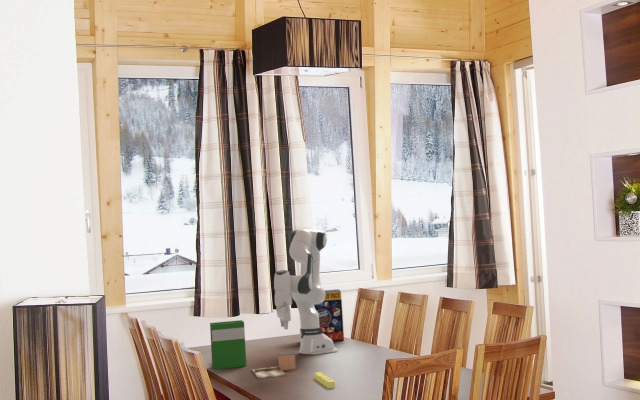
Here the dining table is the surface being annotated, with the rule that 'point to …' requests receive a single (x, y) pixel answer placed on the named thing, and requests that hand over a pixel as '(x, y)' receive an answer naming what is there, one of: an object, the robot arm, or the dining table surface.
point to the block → (287, 361)
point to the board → (268, 372)
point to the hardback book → (228, 344)
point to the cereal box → (331, 315)
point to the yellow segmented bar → (324, 380)
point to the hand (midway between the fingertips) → (284, 327)
